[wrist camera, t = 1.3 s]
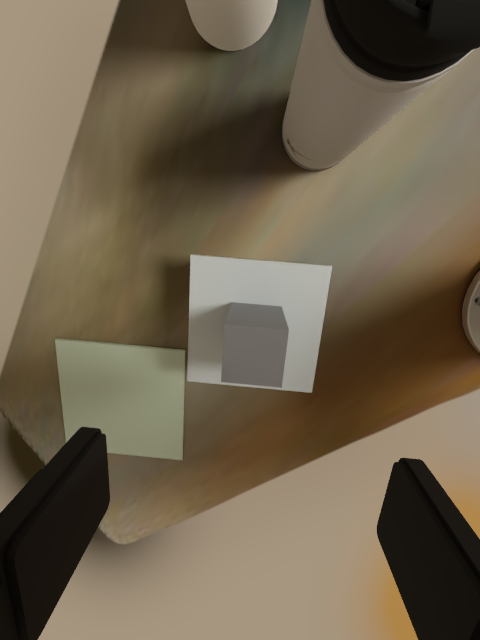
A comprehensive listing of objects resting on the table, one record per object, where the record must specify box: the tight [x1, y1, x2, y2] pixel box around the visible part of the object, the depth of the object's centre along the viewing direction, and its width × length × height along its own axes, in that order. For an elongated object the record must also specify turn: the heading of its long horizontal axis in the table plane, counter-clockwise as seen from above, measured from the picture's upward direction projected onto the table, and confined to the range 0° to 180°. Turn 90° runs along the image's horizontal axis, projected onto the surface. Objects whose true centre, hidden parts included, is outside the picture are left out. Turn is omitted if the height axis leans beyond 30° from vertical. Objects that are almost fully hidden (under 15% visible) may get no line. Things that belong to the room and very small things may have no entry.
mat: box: [55, 338, 185, 460], centre depth 34 cm, size 14×14×1 cm
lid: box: [187, 254, 332, 393], centre depth 23 cm, size 11×11×7 cm
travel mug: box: [282, 0, 480, 171], centre depth 16 cm, size 6×7×20 cm
